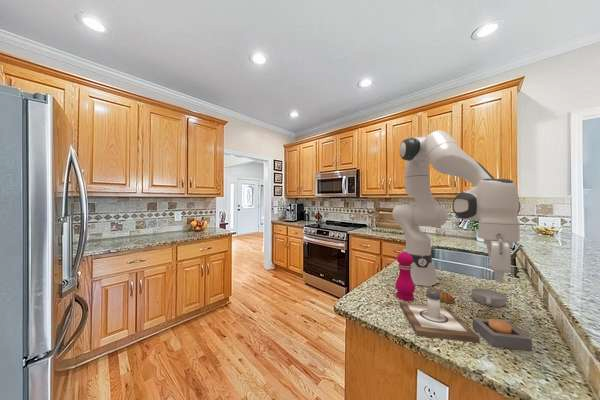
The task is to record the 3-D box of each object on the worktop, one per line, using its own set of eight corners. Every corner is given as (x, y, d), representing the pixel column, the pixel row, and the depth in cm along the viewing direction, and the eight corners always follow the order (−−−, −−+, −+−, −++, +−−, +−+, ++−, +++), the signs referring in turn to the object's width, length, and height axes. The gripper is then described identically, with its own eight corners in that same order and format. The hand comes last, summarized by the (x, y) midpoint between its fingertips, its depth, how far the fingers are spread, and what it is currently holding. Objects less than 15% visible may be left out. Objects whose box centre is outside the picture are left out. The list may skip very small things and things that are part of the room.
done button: (484, 325, 65) (484, 317, 65) (503, 327, 64) (503, 319, 64) (496, 335, 60) (495, 326, 60) (516, 337, 59) (516, 328, 59)
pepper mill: (391, 295, 91) (391, 248, 92) (404, 293, 94) (404, 247, 94) (405, 302, 84) (405, 251, 85) (419, 300, 87) (418, 250, 87)
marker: (424, 313, 72) (424, 289, 72) (434, 312, 73) (434, 288, 73) (432, 319, 68) (432, 293, 69) (443, 318, 69) (443, 293, 69)
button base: (472, 327, 67) (472, 318, 67) (506, 331, 65) (506, 321, 65) (492, 346, 58) (492, 335, 58) (532, 351, 56) (531, 339, 56)
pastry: (456, 301, 87) (456, 291, 87) (452, 306, 82) (452, 296, 82) (429, 294, 93) (429, 285, 94) (424, 298, 89) (424, 289, 89)
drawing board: (400, 306, 81) (400, 301, 81) (447, 310, 78) (447, 305, 78) (416, 335, 63) (416, 329, 63) (479, 342, 60) (479, 335, 60)
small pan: (506, 301, 86) (506, 292, 86) (509, 319, 73) (509, 307, 73) (472, 294, 93) (472, 285, 93) (469, 309, 80) (469, 298, 80)
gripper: (518, 238, 53) (519, 295, 52) (509, 231, 68) (510, 275, 68) (484, 235, 57) (485, 288, 56) (483, 230, 72) (483, 271, 72)
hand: (498, 281), depth 62 cm, fingers closed
